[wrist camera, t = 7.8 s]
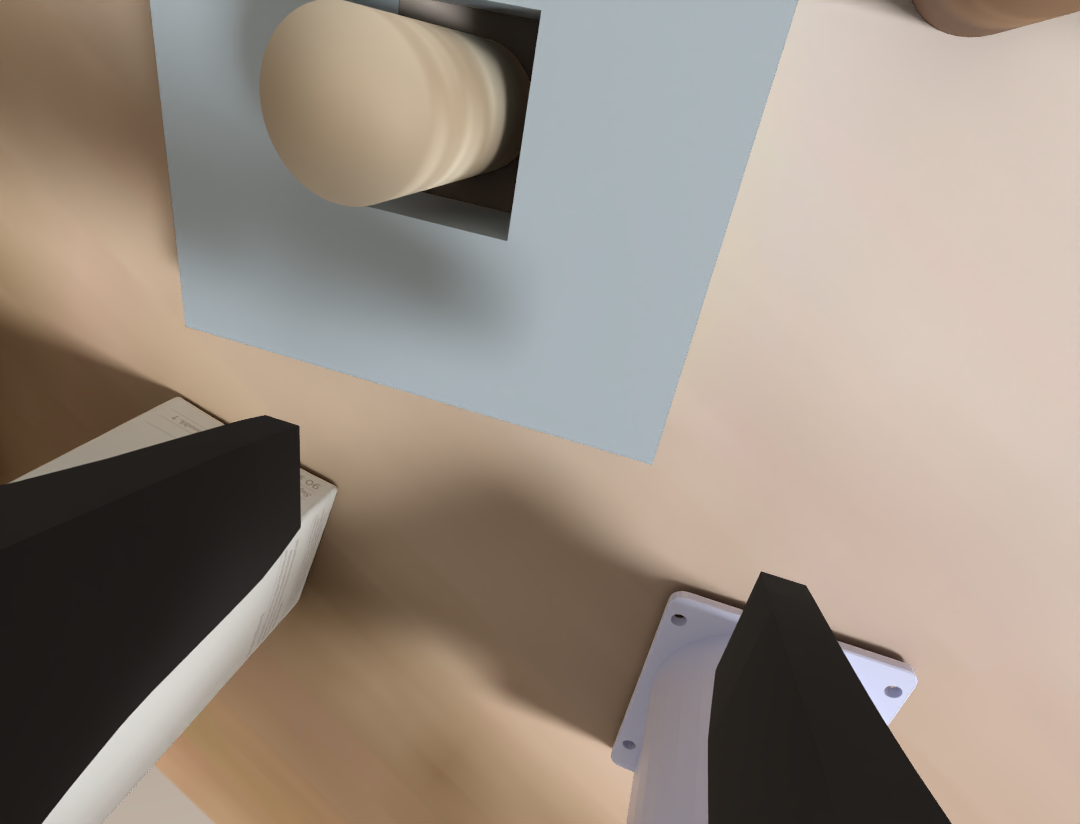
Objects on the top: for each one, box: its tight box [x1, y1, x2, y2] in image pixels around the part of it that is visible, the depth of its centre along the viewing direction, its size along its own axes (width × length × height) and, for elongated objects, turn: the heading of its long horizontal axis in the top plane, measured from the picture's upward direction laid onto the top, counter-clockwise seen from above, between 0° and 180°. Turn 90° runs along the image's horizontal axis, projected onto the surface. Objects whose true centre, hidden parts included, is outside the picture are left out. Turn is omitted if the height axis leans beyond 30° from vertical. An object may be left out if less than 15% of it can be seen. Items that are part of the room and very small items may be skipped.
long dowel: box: [260, 0, 530, 207], centre depth 13 cm, size 3×3×6 cm
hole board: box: [150, 0, 798, 465], centre depth 15 cm, size 14×14×3 cm
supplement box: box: [7, 397, 337, 824], centre depth 20 cm, size 7×7×13 cm
